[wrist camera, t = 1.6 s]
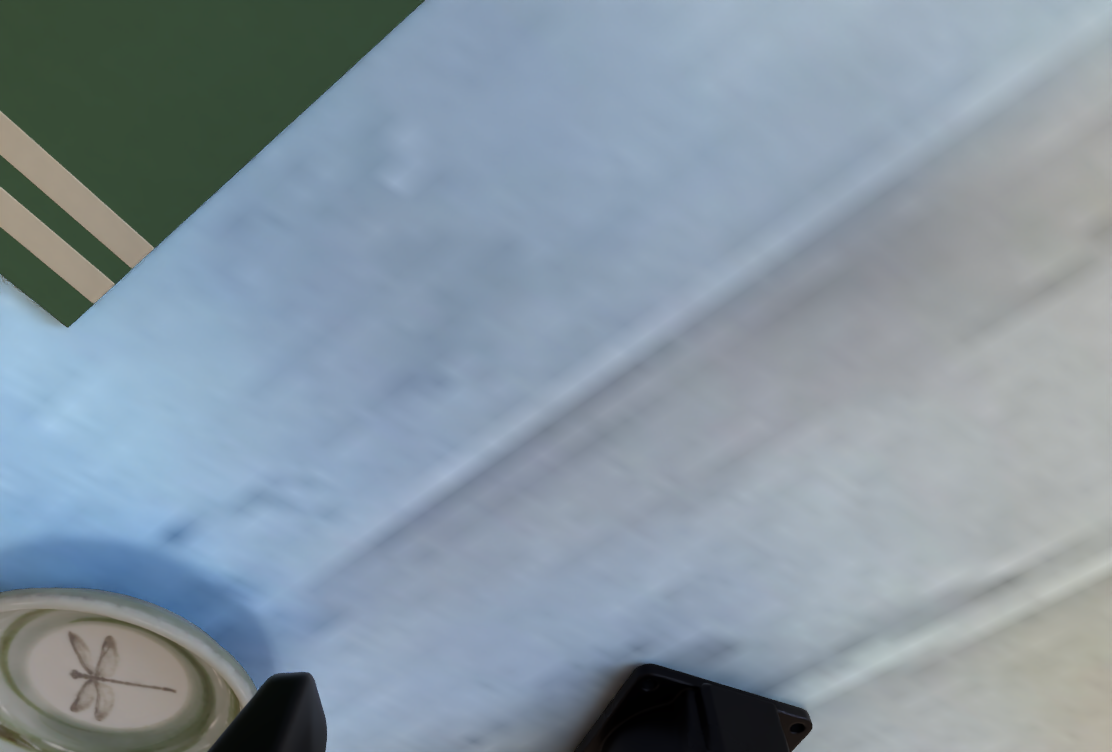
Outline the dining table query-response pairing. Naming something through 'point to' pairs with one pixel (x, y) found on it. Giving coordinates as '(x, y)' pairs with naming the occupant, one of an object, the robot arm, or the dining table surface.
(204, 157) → the cloth
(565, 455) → the dining table surface
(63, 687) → the saucer
